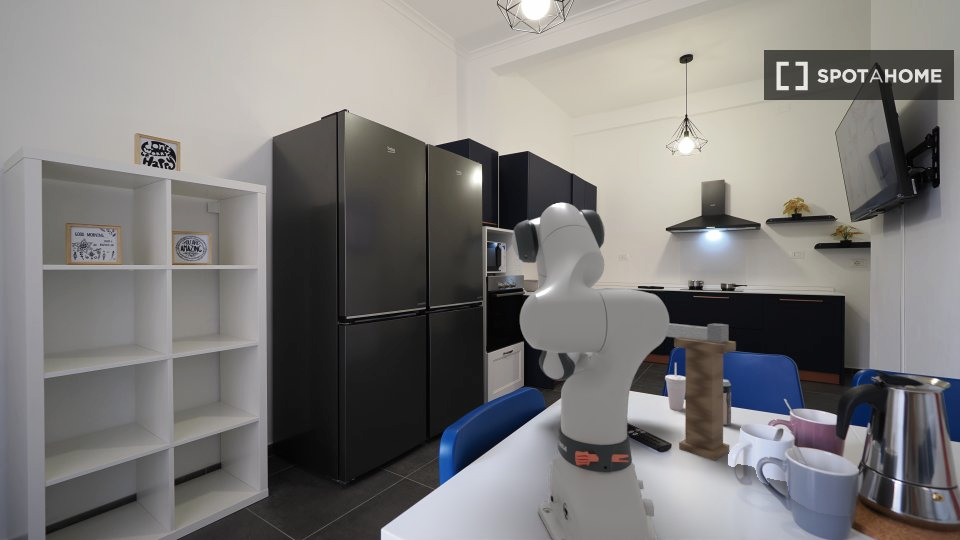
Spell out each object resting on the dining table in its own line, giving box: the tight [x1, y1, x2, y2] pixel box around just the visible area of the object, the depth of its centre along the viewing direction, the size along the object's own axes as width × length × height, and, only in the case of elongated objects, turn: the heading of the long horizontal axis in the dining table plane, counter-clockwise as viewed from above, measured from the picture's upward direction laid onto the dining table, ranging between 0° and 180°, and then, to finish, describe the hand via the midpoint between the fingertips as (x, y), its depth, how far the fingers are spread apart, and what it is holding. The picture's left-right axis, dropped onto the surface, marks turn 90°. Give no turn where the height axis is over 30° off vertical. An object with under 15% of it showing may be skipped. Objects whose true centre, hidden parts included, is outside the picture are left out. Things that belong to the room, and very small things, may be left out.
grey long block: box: [666, 322, 730, 344], centre depth 101 cm, size 18×4×4 cm, turn 39°
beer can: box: [723, 378, 732, 426], centre depth 115 cm, size 5×5×12 cm
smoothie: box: [664, 362, 686, 412], centre depth 127 cm, size 6×6×14 cm
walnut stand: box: [673, 337, 737, 462], centre depth 97 cm, size 11×8×26 cm
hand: (647, 335), depth 108 cm, fingers open, 8 cm apart
